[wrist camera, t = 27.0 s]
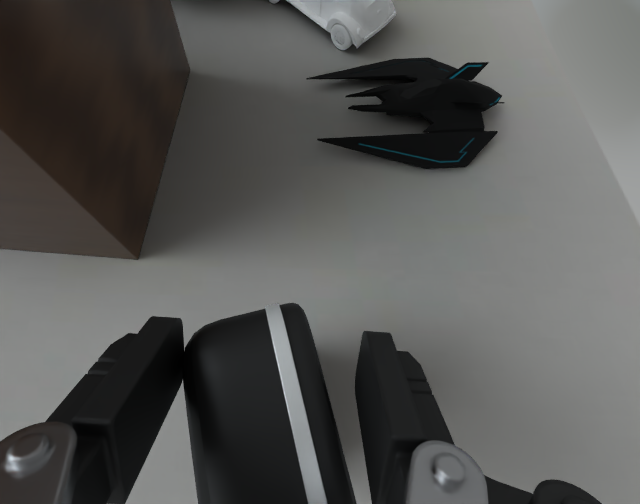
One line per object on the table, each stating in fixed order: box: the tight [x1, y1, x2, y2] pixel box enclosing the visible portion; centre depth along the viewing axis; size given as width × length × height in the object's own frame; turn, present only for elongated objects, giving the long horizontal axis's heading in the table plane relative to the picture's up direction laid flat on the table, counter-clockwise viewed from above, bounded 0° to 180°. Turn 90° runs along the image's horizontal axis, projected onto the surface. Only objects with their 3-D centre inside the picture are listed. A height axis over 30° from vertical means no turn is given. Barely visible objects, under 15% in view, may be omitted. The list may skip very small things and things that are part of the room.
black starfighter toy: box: [307, 58, 505, 169], centre depth 26 cm, size 11×15×3 cm
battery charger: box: [182, 303, 356, 504], centre depth 13 cm, size 7×4×11 cm, turn 15°
